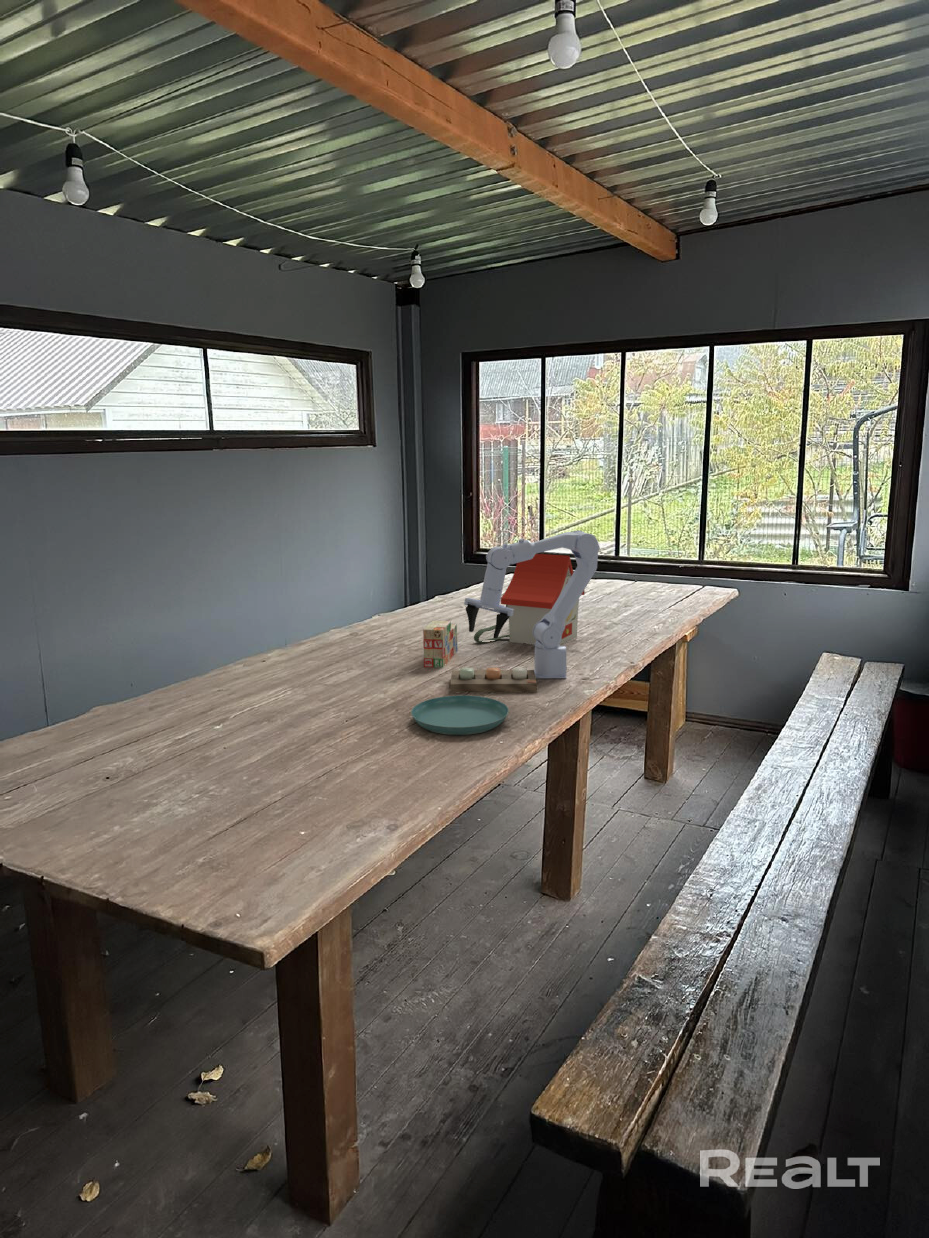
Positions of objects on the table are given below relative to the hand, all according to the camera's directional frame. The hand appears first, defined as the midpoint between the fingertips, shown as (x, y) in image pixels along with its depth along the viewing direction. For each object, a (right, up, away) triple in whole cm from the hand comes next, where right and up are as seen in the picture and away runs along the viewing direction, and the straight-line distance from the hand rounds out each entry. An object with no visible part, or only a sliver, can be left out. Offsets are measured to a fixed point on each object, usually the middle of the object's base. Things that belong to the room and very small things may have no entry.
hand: (483, 634), depth 243 cm
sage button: (-5, -13, -3) cm, 14 cm away
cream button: (+10, -13, -4) cm, 17 cm away
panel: (+3, -14, -3) cm, 15 cm away
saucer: (-6, -22, -33) cm, 40 cm away
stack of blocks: (-13, -9, +27) cm, 31 cm away
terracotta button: (+3, -13, -3) cm, 13 cm away
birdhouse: (+19, -2, +54) cm, 57 cm away
